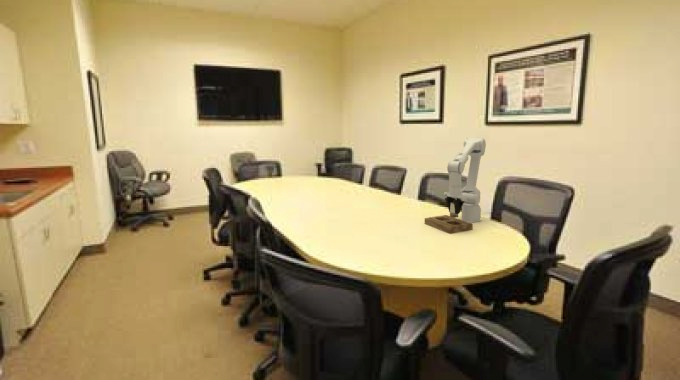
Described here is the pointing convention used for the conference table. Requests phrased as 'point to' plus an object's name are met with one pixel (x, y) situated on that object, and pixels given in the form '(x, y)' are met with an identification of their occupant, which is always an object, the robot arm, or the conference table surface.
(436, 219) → the jig plate
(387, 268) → the conference table surface
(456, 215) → the battery
